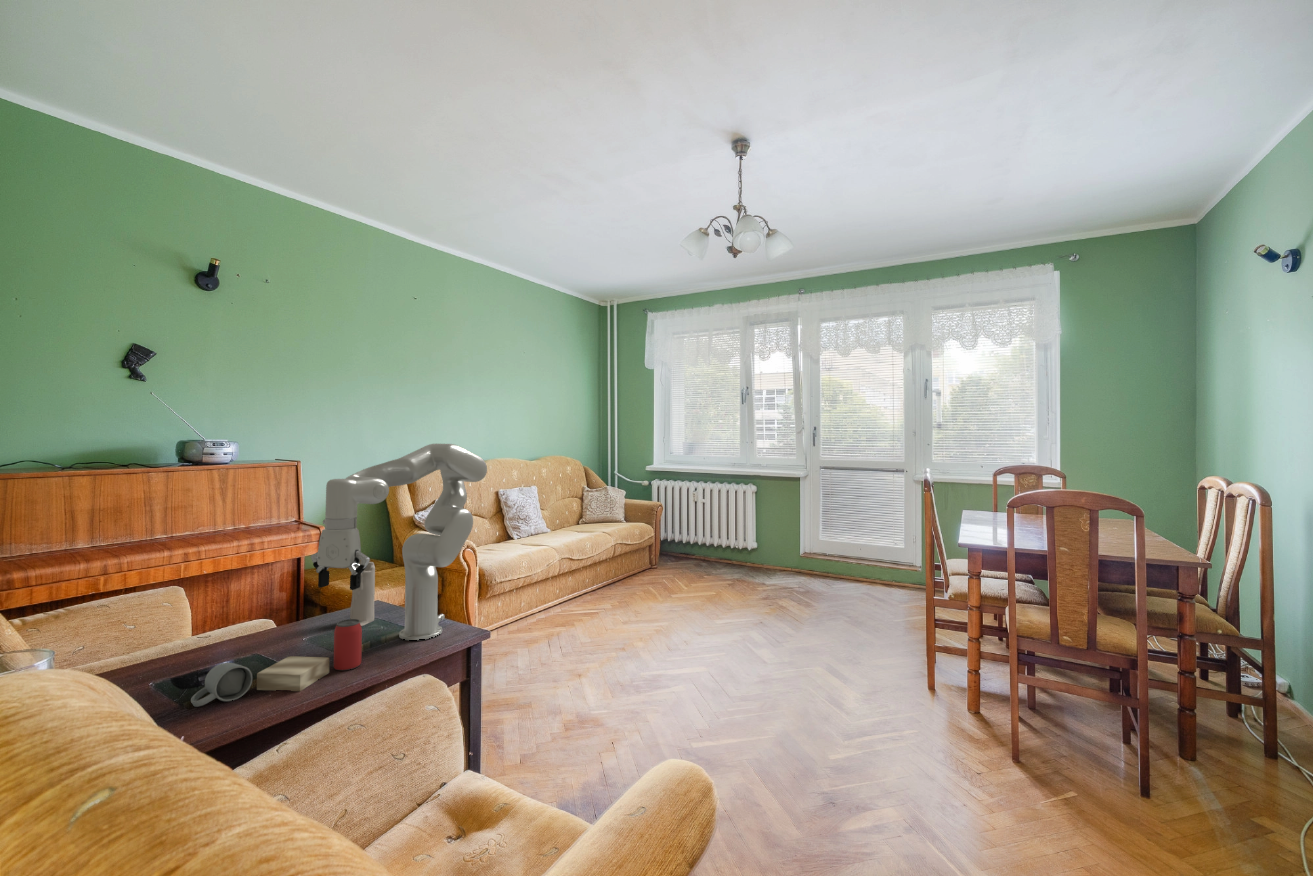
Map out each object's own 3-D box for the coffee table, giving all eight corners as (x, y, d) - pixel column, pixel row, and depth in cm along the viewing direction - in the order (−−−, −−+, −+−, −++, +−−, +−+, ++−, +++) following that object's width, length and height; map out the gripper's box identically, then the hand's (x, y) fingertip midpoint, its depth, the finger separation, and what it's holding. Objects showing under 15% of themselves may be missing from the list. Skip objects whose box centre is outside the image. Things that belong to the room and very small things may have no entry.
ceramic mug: (237, 685, 138) (237, 655, 138) (253, 694, 134) (253, 662, 134) (184, 703, 129) (184, 670, 129) (199, 712, 125) (199, 678, 125)
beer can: (349, 672, 147) (349, 627, 147) (327, 670, 148) (328, 625, 148) (366, 663, 153) (367, 619, 153) (346, 660, 155) (346, 617, 155)
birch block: (288, 671, 147) (289, 656, 147) (329, 672, 147) (329, 657, 147) (256, 689, 136) (257, 673, 136) (300, 691, 136) (300, 674, 136)
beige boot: (330, 630, 179) (331, 568, 179) (360, 617, 193) (361, 559, 193) (350, 631, 178) (351, 569, 178) (378, 618, 192) (379, 560, 192)
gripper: (302, 524, 149) (300, 589, 149) (359, 527, 146) (357, 593, 146) (323, 521, 157) (322, 582, 156) (378, 523, 154) (377, 586, 153)
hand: (339, 587), depth 151 cm, fingers open, 9 cm apart
